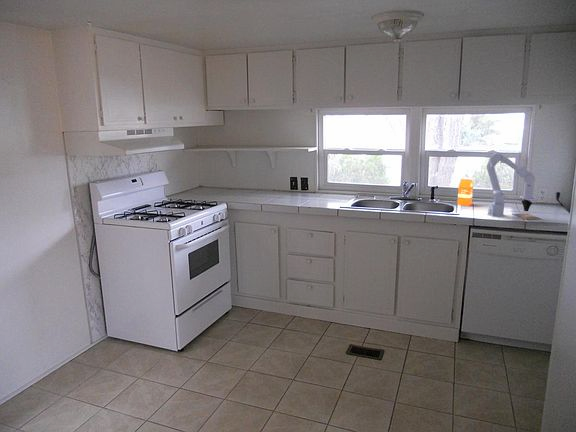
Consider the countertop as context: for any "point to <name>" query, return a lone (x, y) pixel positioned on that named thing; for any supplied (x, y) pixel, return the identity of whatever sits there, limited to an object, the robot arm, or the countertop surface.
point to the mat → (523, 218)
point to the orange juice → (465, 192)
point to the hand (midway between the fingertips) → (526, 211)
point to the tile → (527, 216)
